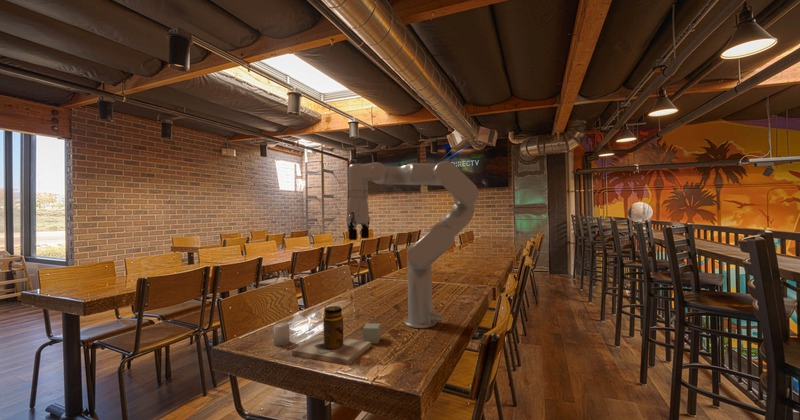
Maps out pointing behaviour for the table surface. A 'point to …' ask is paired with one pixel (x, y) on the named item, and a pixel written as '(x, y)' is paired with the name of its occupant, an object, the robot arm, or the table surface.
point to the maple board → (336, 356)
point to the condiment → (332, 330)
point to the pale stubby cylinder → (281, 334)
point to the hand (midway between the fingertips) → (359, 238)
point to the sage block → (372, 332)
